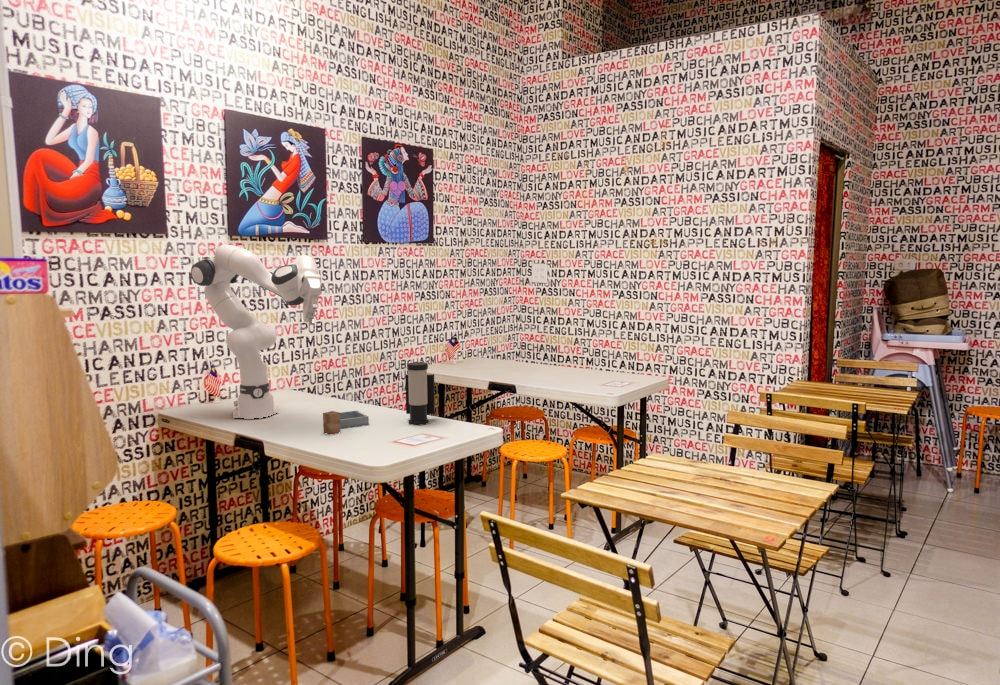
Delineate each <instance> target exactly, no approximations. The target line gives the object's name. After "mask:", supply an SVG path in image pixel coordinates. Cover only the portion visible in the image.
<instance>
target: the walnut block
mask: <svg viewBox="0 0 1000 685" xmlns="http://www.w3.org/2000/svg"><path fill="white" fill-rule="evenodd" d="M340 413H341V412H339V411H333V410H331V411H326V412H325V411H324V412H323V413H322V421H323V422H322V423H323V424H322V425H323V427H322V428H323V429H322V430H323V434H325V433H327V435H330V434H333V435H336V434H340V433H341V429H340ZM339 432H340V433H339ZM335 433H336V434H335Z"/></svg>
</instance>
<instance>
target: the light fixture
mask: <svg viewBox="0 0 1000 685" xmlns="http://www.w3.org/2000/svg"><path fill="white" fill-rule="evenodd" d="M406 369H407V373H408V374H405V375H404V377H405V380H404V381H405V412H406V415H409V420H408V424H409V425H410V424H414V425H413V426H420V425H419V424H425V425H427V424H426V423H428V422H429V423H430V419H428V415H431V414H432V415H435V413H436V400H435V397H436V396H435V394H436V393H435V374H434V373H433V374H431V373H428V369H429V364H428V362H424V361H417V362H416V361H415V362H408V363H406ZM429 423H428V424H429Z"/></svg>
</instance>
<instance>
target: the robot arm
mask: <svg viewBox="0 0 1000 685" xmlns="http://www.w3.org/2000/svg"><path fill="white" fill-rule="evenodd" d="M190 276H191V278H192V280H193V282H194V283H195V284H196V285H197V286H201V287H205V288H204V291H203V292H204V296H205V298H206V300H207V302H208V304H209V306H211V308H212V309H213V311H214V313H215V314H216V315H217V317H218V318H219V320H220V321H221V322H222V323H223V325H225V326H226V327H228V328H229V329H231V330H232V331H231V332H229V333H228V335H227V337H226V345H227V348H228V350H230V352H232V353H233V354H234V356H235V358H236V360H237V363H238V366H239V367H238V368H239V375H240V384H239V395H238V397H237V400H235V401H233V407H236V408H235V409H233V411H232V419H234V418H244V419H243V420H255V419H254V418H259V419H264V418H263V417H266V418H269V417H268V416H270V417H272V416H273V414H274V415H277V414H279V410H277V409H275V401H274V395H273V394H271V393H270V383H269V378H268V365H267V364H266V362H264V361H263V360H262V357H261V355H260V352H261V351H264V350H268V349H269V348H271V347H272V346H273V345H274V344H276V341H277V333H276V331H275V330H274V328H273V327H271V326H269V325H267V324H265V323H264V322H262V321H261V320H259V319H258V318H257V317H256V316H254V315H253V314H252V313H251V312H250V311H249V310H248V309H247V308H246V306H244V304H243V303H242V301H241V300H240V299H239V298H238V296H237V295H236V294H235V293H234V291H233V290H232V288H231V284H235V283H236V282H237V279H238V278H239V277H241V278H244V279H246V280H249V281H251V282H252V283H254V284H256V285H258V286H259V287H261V288H263V289H265V290H266V291H269V292H271V293H272V294H274V295H277V296H278V297H280V298H282V300H283V301H284V303H286V304H287V305H288V306H299V305H301V304H302V316H303V317H302V318H303V321H304V323H308V325H309V326H314V324H315V316H316V315H315V314H316V310H317V309H318V301H319V297H320V296H321V294H322V285H321V284H322V283H321V282H322V276H321V274H319V268H318V265H317V263H316V261H315V259H314V258H313V257H312V256H310V255H307V254H305V255H304V254H303V255H302V254H301V255H298V256H296V258H294V260H293V261H292V262H291V263H289V264H286V265H282V266H279V267H277V268H276V269H275V270H274V271H273V272H272V273H271V271H269V269H267V267H266V266H265V265H264V263H263V262H262V261H261V259H260V258H259V257H258V255H256V254H254V252H252V251H251V250H248V249H247V248H245V247H244V248H243V247H241V246H239V245H234V244H229V243H228V244H227V243H226V244H225V243H224V244H221V245H219V246H218V247H217V248H216V249H215V252H214V256H213V257H211V258H204V259H202V260H199V261H197V262H195V263H193V265H192V266H191V269H190ZM276 413H277V414H276ZM271 415H272V416H271Z"/></svg>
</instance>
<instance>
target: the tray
mask: <svg viewBox="0 0 1000 685" xmlns="http://www.w3.org/2000/svg"><path fill="white" fill-rule="evenodd" d="M369 419H370V418H369V415H367V414H365V413H363V412H360V411H358V410H350V411H341V412H340V430H342V429H341V428H343V429H349V428H348V427H350V428H356V427H355V426H357V427H362V425H365V426H369V425H370V422H369ZM368 424H369V425H368Z"/></svg>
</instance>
